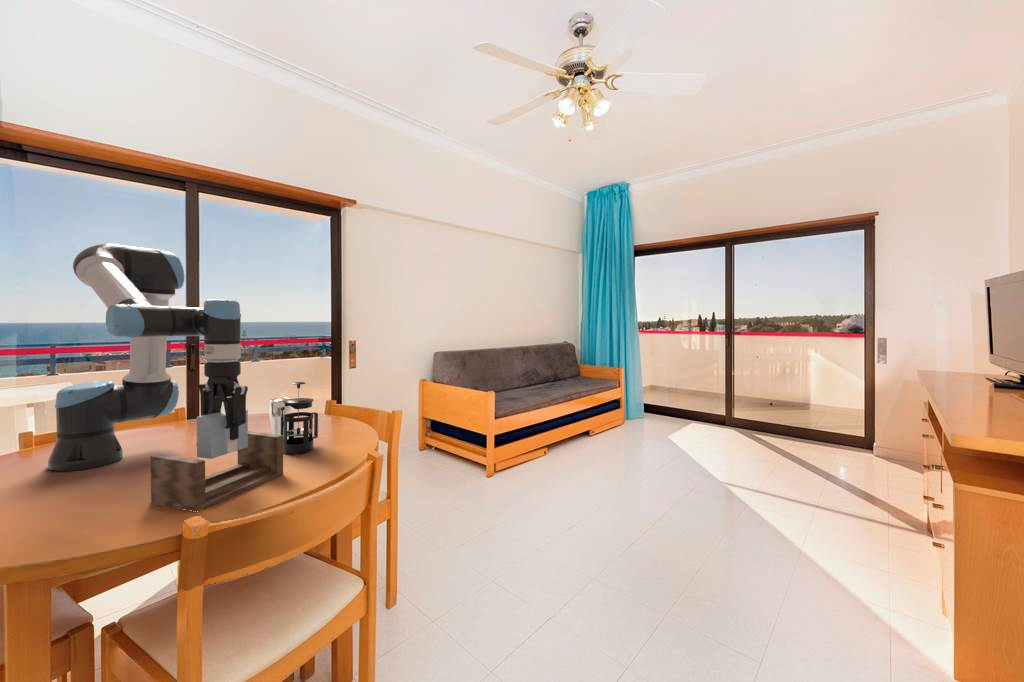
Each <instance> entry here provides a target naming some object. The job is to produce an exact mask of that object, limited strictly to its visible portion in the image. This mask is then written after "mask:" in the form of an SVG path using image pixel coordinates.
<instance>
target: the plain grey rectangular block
mask: <svg viewBox="0 0 1024 682" xmlns="http://www.w3.org/2000/svg"><path fill="white" fill-rule="evenodd" d="M248 414H249V413H248V410H247V409H246V423H245V424H242V425H240V426H239V434H238V435H239V437H238V439H237V451H238V450H241V449H244V448H247V447H248V431H249V430H248V428H249V427H248V426H249V424H248V422H249V421H248V420H249V419H248V417H249V415H248ZM226 426H228V424H227V419H226V413H225V410H224V411H222V410H221V412H217V413H213V414H208V415H203V416H201V415H198V416H196V458H201V459H209V460H212V459H213V460H214V459H215V458H218V457H221V456H225V455H226V454H225V427H226Z"/></svg>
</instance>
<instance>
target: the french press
mask: <svg viewBox="0 0 1024 682" xmlns="http://www.w3.org/2000/svg"><path fill="white" fill-rule="evenodd" d="M305 384H306V382H305V381H295V382H292V383H291V385H294V386H295V385H296V388H297V397H296V398H291V399H288V400H285V401H283V403H285V407H287V406H291V407H292V409H294V410H297V412H292V413H289V414H286V415H284V416H283V421H284V441H283V453H284V454H283V455H287V454H288V456H296V455H295V454H298V455H303V454H302V453H304V454H307V453H306V452H308V453H310V452H309V451H311V450H313V449H315V447H314V440H315V439H317V438H318V436H319V424H318V423H319V414H318V412H315V411H314V412H309V411H300V410H305V409H309V408H311V407H313V402H314V401H315V400H314V398H311V397H309V398H308V397H300V389H301V385H305ZM313 421H314V422H313ZM287 422H289V430H288V431H287ZM301 422H303V423H302V424H303V425H302V427H301V428H300V423H301ZM295 423H297V428H295ZM313 429H314V430H313ZM287 436H289V439H287ZM313 451H314V450H313ZM311 452H312V451H311Z"/></svg>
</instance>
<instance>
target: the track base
mask: <svg viewBox="0 0 1024 682" xmlns="http://www.w3.org/2000/svg"><path fill="white" fill-rule="evenodd" d="M283 475H284V454H283V435H276V434H272V433H266V432H258V431H250V430H248V447H247V448H244V449H241V450H237V464H236V465H234V466H233V465H232V466H230V467H228V468H226V469H225V468H224V469H222V470H220V471H217V472H214V473H210V474H209V475H206V460H204V459H196V458H190V457H184V456H176V455H171V454H170V455H169V454H164V453H158V454H154V455H152V456H150V503H151V505H156V506H161V505H163V506H162V507H166V506H169V507H168V508H171V507H174V508H173V509H176V508H179V509H178V510H181V509H186V510H192V511H196V512H197V511H199V512H201V511H203V510H205V509H208V508H210V507H212V506H215V505H218V504H219V503H221V502H224V501H226V500H228V499H230V498H233V497H235V496H237V495H239V494H240V495H241V494H242V493H244V492H247V491H249V490H251V489H253V488H256V487H258V486H260V485H262V484H265V483H267V482H269V481H271V480H275V479H276V478H278V477H281V476H283ZM202 509H203V510H202ZM186 510H185V511H186ZM200 510H201V511H200ZM196 512H195V513H196ZM197 513H198V512H197Z"/></svg>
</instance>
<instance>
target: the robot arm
mask: <svg viewBox="0 0 1024 682" xmlns="http://www.w3.org/2000/svg"><path fill="white" fill-rule="evenodd" d="M72 269H73V272H74V274H75V276H76V277H77V279H78V280H79V281H80V282H81V283H82V284H84V285H86V286H88V287H90V288H91V289H92V290H93V291H94V292H95V294H96V295H97V297H98V298H99V299H100V300H101V301H102V303H103V304H104V305H105V307H106V308H107V310H106V312H105V325H106V327H107V331H108V333H109V334H110V335H111V336H114V337H125V338H126V337H128V338H130V347H129V348H130V350H129V370H128V371H129V372H127V373H126V375H124V376H122V381H121V382H122V383H121V384H115V383H114V382H113V381H112V380H99V381H89V382H83V383H79V384H78V383H77V384H73V385H70V386H66V387H64V388H61V389H60V390H58V391H57V392H56V397H55V405H54V408H55V412H56V413H55V414H56V419H55V420H56V424H55V425H56V442H55V444H54V446H53V448H52V451H51V452H50V455H49V458H48V460H47V469H48V470H49V469H50V470H49V471H51V470H54V472H72V471H81V470H87V469H93V468H98V467H102V466H105V465H110V464H112V463H115V462H117V461H120V460H121V459H122V458H123V457H124V456H123V455H124V453H123V450H124V449H123V447H122V445H121V444H120V442H119V440H118V437H117V435H116V433H115V424H118V423H125V422H133V421H138V420H145V419H146V420H147V419H155V418H158V417H165V416H168V415H170V414H171V413H172V412H173V411H174V410H175V408H176V407H177V404H178V401H179V397H180V396H179V395H180V393H179V392H180V390H179V385H178V383H177V381H176V380H173V379H172V376H171V374H169V373H168V372H167V371H166V370H167V368H166V366H167V345H168V343H167V342H168V337H204V338H203V343H204V360H205V362H204V364H203V365H204V366H203V369H204V371H203V372H204V377H206V378H207V382H206V383H201V384H198V390H199V393H200V397H199V398H200V402H199V404H200V416H203V415H208V414H213V413H217V412H222V406H223V408H224V411H225V413H226V419H227V424H228V426H226V427H225V455H228V454H231V453H235V452H238V450H237V439H238V437H239V435H238V434H239V426H240V425H242V424H245V423H246V410H247V394H248V389H249V388H248V385H241V384H239V383H240V382H239V380H238V377H239V376H240V375H241V371H242V370H241V367H242V366H241V361H240V359H241V358H242V356H241V355H242V354H241V317H242V314H241V307H240V306H241V305H240V303H239V302H238V301H237V300H232V299H231V300H230V299H206V300H205V301H204V303H203V307H199V306H198V307H197V306H196V307H194V306H193V307H191V306H190V307H189V306H169V301H170V299H171V298H173V297H174V296H175V295H176V290H179V289H182V287H183V286H184V283H185V272H184V271H185V270H184V267H183V263H182V261H181V260H180V258H179V257H178V256H177V254H175V253H173V252H170V251H165V250H161V249H158V248H157V249H153V248H147V247H146V248H145V247H139V246H138V247H137V246H129V245H121V244H116V243H101V244H95V245H92V246H89V247H86V248H85V249H83V250H81V251H80V252H79V253H77V255H76V257H75V258H74V260H73V263H72ZM109 463H110V464H109Z"/></svg>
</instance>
